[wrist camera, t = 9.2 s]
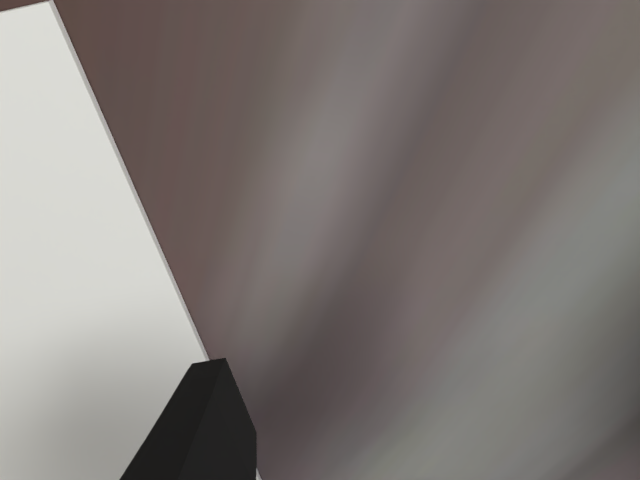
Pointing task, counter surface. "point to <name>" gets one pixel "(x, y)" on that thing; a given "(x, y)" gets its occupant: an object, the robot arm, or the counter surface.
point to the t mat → (75, 274)
